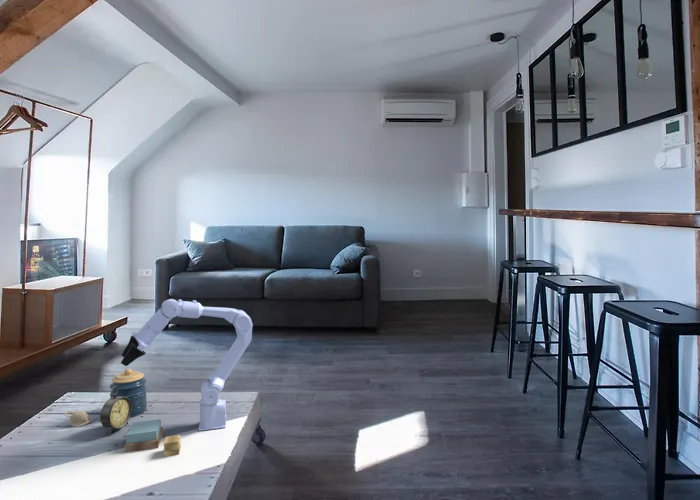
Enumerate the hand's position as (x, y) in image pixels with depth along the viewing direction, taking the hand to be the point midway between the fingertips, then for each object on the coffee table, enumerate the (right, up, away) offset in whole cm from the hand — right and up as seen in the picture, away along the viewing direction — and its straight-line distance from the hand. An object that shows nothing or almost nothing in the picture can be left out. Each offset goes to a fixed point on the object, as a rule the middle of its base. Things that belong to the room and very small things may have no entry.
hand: (123, 360), depth 139 cm
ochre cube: (+19, -29, -6) cm, 35 cm away
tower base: (+7, -29, 0) cm, 30 cm away
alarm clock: (-8, -28, +9) cm, 31 cm away
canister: (-11, -27, +24) cm, 38 cm away
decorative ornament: (-25, -28, +14) cm, 40 cm away
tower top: (+7, -26, 0) cm, 27 cm away
